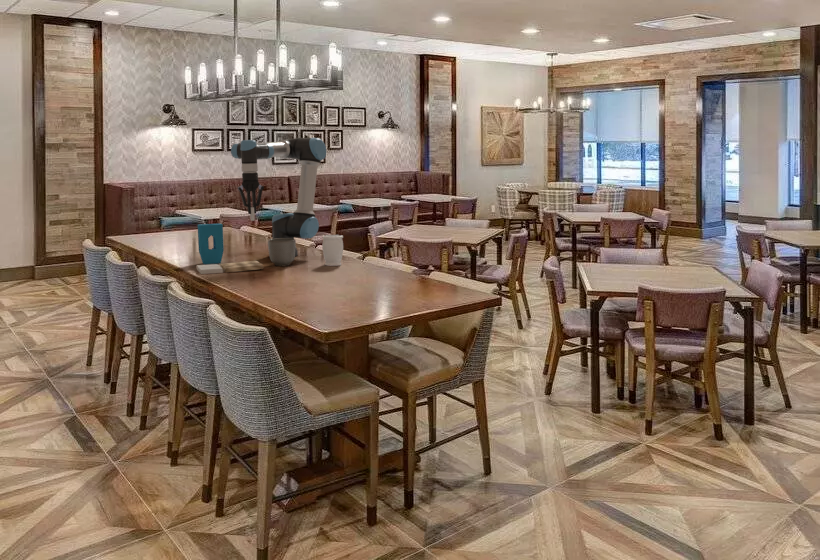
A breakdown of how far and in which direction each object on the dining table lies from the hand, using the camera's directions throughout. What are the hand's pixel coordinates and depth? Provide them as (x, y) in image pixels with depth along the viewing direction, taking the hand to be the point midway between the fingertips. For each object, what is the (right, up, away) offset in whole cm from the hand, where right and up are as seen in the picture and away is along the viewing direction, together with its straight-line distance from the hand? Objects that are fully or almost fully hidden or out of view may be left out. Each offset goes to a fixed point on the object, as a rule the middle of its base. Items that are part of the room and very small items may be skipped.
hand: (252, 220), depth 378 cm
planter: (+13, -22, +11) cm, 28 cm away
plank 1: (-7, -23, +2) cm, 24 cm away
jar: (+38, -22, +12) cm, 46 cm away
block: (-24, -21, +17) cm, 36 cm away
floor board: (-19, -25, -8) cm, 33 cm away
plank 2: (-3, -24, -6) cm, 25 cm away
